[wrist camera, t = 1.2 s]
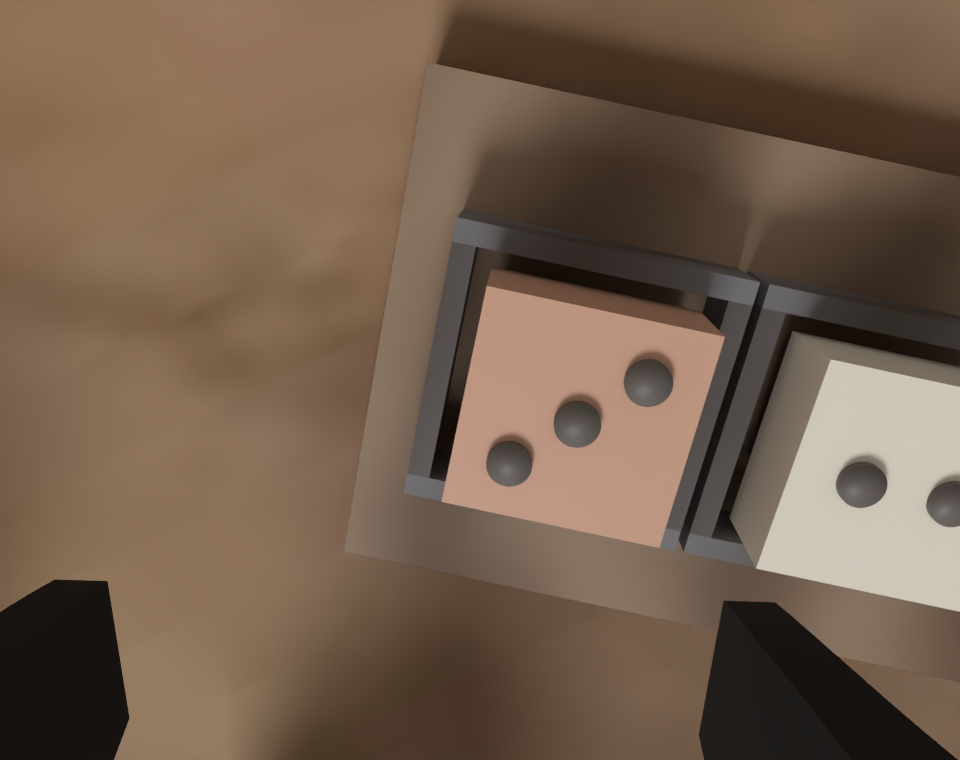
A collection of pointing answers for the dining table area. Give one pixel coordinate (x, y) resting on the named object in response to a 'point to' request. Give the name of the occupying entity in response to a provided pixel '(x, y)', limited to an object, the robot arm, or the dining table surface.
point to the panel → (661, 278)
